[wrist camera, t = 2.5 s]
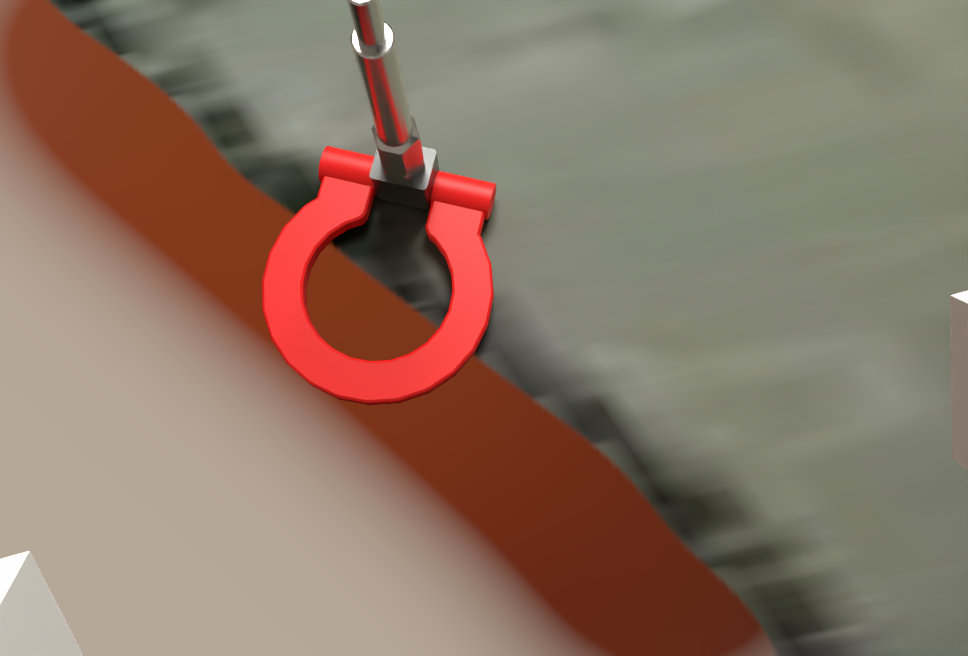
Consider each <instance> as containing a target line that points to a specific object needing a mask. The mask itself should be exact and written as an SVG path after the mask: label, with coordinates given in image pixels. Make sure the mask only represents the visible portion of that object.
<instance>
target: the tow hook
mask: <svg viewBox="0 0 968 656" xmlns="http://www.w3.org/2000/svg"><path fill="white" fill-rule="evenodd" d="M347 2H348V5H349V9H350V13H351V16H352V20H353V24H354V27H355V28H354V30H353V32H352V34H351V39H350V40H351V46H352V49H353V53H354V56H355V60H356V63H357V67H358V70H359V73H360V77H361V80H362V84H363V87H364V91H365V94H366V98H367V101H368V104H369V108H370V111H371V115H372V118H373V122H374V125H373V126H372V132H373V136H374V139H375V143H376V146H377V150H376V154H375V157H374V156H370V155H365V154H361V153H356V152H352V151H347V150H343V149H338V148H334V147H330V146H327V147H326V148H325V149H324V151H323V153H322V156H321V160H320V164H319V180H320V182H322V183H321V186H320V190H319V193H318V196H317V198H316V199H314V200H313V201H311V202H309V203H308V204H306V205H305V206H304V207H303V208H302V209H301V210H300V211H299V212H298V213H297V214H296V215H295V216H294V217H293V218H292V219H291V220H290V221H289V222H288V223H287V224H286V226H284V228H283V229H282V231H281V233H280V235H279V237H278V238H277V240H276V242H275V244H274V245H273V247H272V249H271V251H270V253H269V256H268V260H267V264H266V268H265V272H264V276H263V280H262V301H263V302H262V304H263V313H264V317H265V320H266V323H267V326H268V330H269V333H270V337H271V339H272V341H273V342H274V344H275V345H276V347H277V349H278V350H279V352H280V353H281V355H282V356H283V358H284V360H285V361H286V363H287V364H288V365H289V366H290V367H291V368H292V369H294V370H295V371H296V372H297V373H298V374H299V375H300V376H302V377H303V378H304V379H305V380H306V381H307V382H308V383H309V384H311V385H312V386H313V387H316V388H318V389H320V390H322V391H324V392H326V393H328V394H330V395H332V396H334V397H336V398H338V399H341V400H346V401H351V402H356V403H361V404H366V405H377V404H392V403H401V402H404V401H407V400H410V399H413V398H416V397H419V396H422V395H425V394H428V393H430V392H431V391H433V390H434V389H436V388H437V387H439V386H440V385H442V384H443V383H445V382H446V381H448V380H449V379H451V378H452V377H454V376H455V375H456V374H457V373H458V371H459V370H460V369H461V368H462V367H463V366H464V365H465V364H466V363H467V361H468V360H469V359H470V358H471V357H472V356H473V355H474V353H475V352H476V350H477V348H478V346H479V344H480V341H481V339H482V337H483V335H484V333H485V331H486V329H487V327H488V323H489V318H490V313H491V308H492V303H493V281H492V268H491V263H490V260H489V257H488V255H487V252H486V249H485V246H484V243H483V241H482V238H481V232H482V228H483V224H484V220H485V219H486V220H488V219H489V217H490V215H491V212H492V208H493V204H494V199H495V194H496V184H495V183H490V182H486V181H481V180H477V179H472V178H468V177H464V176H459V175H455V174H450V173H446V172H441V171H439V166H438V159H437V153H436V150H434V149H431V148H426V147H422V146H421V141H420V137H419V133H418V130H417V126H416V123H415V120H414V117H413V116H411V115H410V111H409V106H408V101H407V96H406V91H405V86H404V80H403V75H402V70H401V65H400V60H399V55H398V50H397V45H396V40H395V34H394V32H393V29H392V28H391V27H390V26H389V24H387V23H386V22H384V20H383V15H382V10H381V6H380V1H379V0H347ZM375 194H376V196H377V197H378V198H379V199H383V200H387V201H392V202H396V203H400V204H405V205H409V206H414V207H418V208H422V209H430V211H429V215H428V219H427V223H426V226H425V229H426V233H427V236H428V238H429V240H430V241H431V242H432V243H434V244H435V245H436V247H437V248H438V250H439V251H440V252H441V254H442V255H443V257H444V258H445V260H446V262H447V265H448V268H449V271H450V273H451V277H452V296H451V301H450V306H449V311H448V313H447V314H446V316H445V318H444V320H443V322H442V324H441V326H440V328H439V329H438V330H437V331H436V333H435V334H434V335H433V336H432V337H431V338H430V339H429V340H428V341H427V343H425V344H424V345H422V346H420V347H419V348H417V349H416V350H414V351H413V352H412V353H410V354H407V355H404V356H401V357H398V358H395V359H392V360H382V361H366V360H361V359H356V358H351V357H349V356H347V355H345V354H343V353H341V352H339V351H337V350H335V349H333V348H332V347H331V346H330V345H329V344H327V343H326V342H325V341H324V340H323V339H322V338H321V337H320V335H319V334H318V332H317V331H316V329H315V327H314V326H313V324H312V322H311V318H310V315H309V312H308V309H307V297H306V286H307V283H308V279H309V275H310V270H311V268H312V266H313V264H314V263H315V261H316V259H317V257H318V255H319V254H320V252H321V251H322V250H323V249H324V248H325V247H326V246H327V245H328V244H329V243H330V242H331V241H332V240H333V239H334V238H336V237H337V236H339V235H340V234H342V233H344V232H345V231H347V230H348V229H351V228H354V227H357V226H360V225H363V224H364V223H365V222H366V221H367V220H368V218H369V214H370V211H371V207H372V204H373V200H374V197H375Z"/></svg>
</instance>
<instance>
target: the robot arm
mask: <svg viewBox="0 0 968 656" xmlns="http://www.w3.org/2000/svg"><path fill="white" fill-rule="evenodd" d="M950 306H951V407H952V459H954V460H955V461H956V462H958V463H959V464H961V465H962V466H963V467H965V468H966V469H967V470H968V291H964V292H961V293H957V294H953V295H950ZM0 656H83V654H82V652H81V650H80V648H79V646H78V644H77V642H76V640H75V638H74V636H73V634H72V632H71V630H70V628H69V626H68V625H67V622H66V620H65V619H64V616H63V615H62V613H61V611H60V609H59V607H58V605H57V603H56V601H55V599H54V597H53V595H52V593H51V591H50V589H49V587H48V585H47V583H46V581H45V579H44V577H43V575H42V573H41V571H40V569H39V568H38V565H37V563H36V562H35V560H34V558H33V556H32V554H31V552H30V551H27V552H23V553H20V554H16V555H12V556H9V557H5V558H1V559H0Z"/></svg>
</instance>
